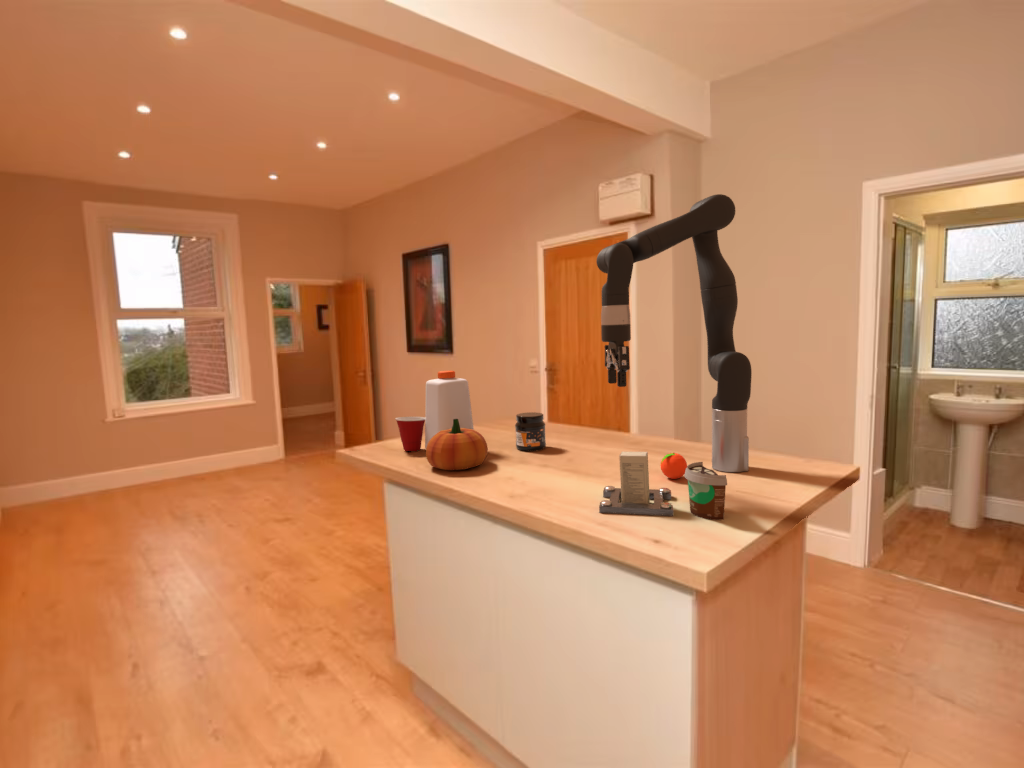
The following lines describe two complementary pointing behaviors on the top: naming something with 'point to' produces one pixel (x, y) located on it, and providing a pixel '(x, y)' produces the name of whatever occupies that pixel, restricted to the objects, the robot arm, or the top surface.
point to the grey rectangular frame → (637, 509)
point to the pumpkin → (456, 448)
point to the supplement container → (530, 431)
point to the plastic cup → (411, 432)
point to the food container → (706, 491)
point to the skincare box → (634, 477)
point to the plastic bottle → (446, 404)
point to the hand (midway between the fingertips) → (616, 384)
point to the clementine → (673, 465)
